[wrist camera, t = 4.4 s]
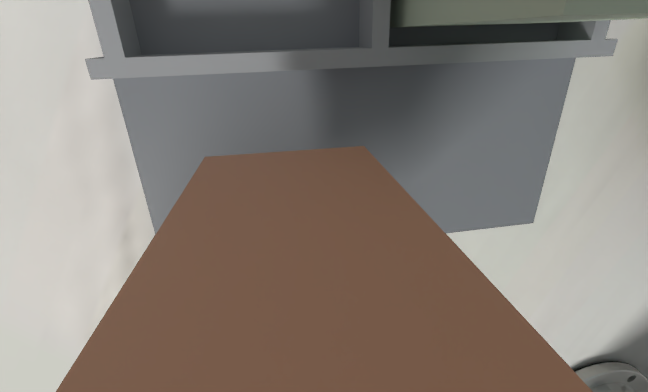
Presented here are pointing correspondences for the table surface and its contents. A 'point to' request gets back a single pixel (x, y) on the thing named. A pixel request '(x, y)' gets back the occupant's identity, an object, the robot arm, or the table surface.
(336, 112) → the shelf
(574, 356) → the table surface
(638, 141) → the table surface
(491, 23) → the carton sage
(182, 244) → the carton rust
